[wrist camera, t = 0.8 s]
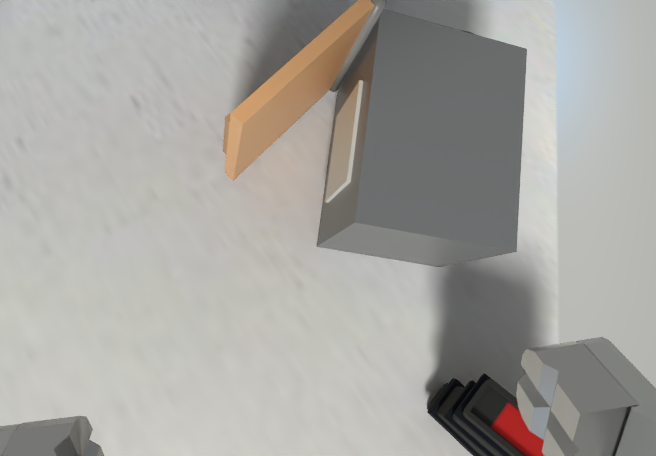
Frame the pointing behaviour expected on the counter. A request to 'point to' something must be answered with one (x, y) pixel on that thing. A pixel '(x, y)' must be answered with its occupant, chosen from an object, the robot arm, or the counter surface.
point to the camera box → (426, 146)
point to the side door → (297, 86)
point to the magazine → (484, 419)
